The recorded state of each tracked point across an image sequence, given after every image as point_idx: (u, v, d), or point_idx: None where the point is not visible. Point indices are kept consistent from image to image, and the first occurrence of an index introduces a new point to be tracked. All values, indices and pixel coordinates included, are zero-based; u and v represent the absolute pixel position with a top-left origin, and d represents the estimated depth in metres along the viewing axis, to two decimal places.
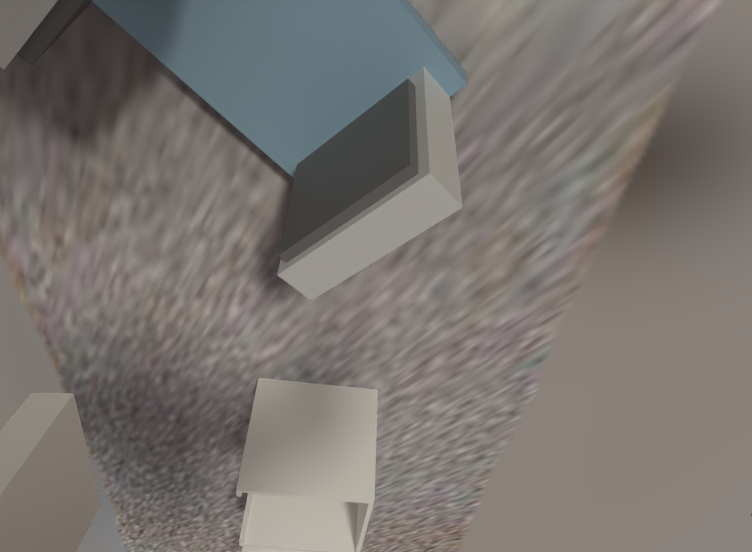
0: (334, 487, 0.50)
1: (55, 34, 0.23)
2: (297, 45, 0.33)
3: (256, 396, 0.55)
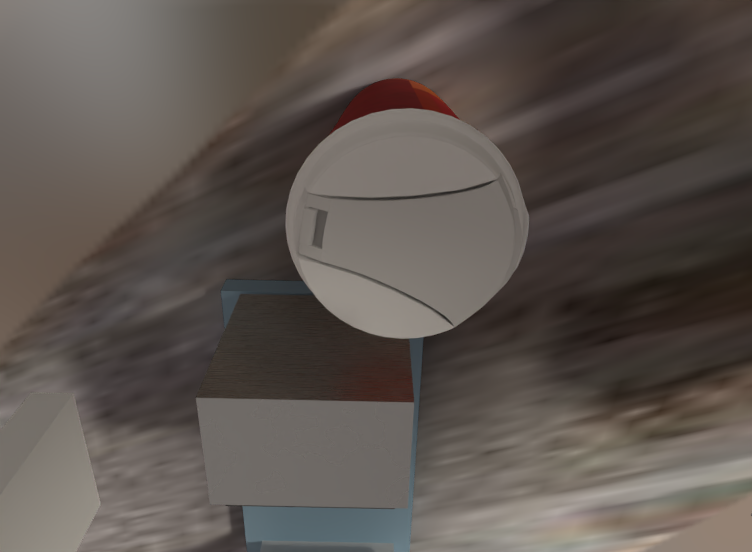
0: None
1: (262, 505, 0.31)
2: None
3: None
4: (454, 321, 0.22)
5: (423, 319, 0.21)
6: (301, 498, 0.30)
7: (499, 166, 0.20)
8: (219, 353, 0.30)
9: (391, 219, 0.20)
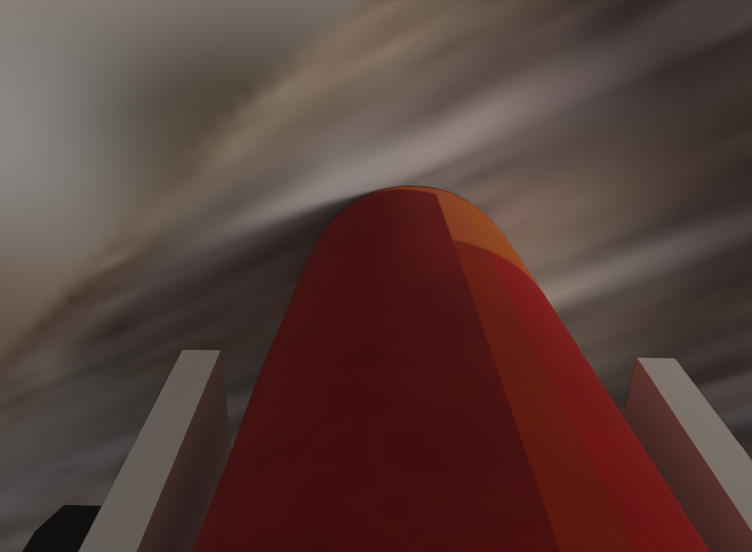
0: None
1: None
2: None
3: None
4: None
5: None
6: None
7: None
8: None
9: None
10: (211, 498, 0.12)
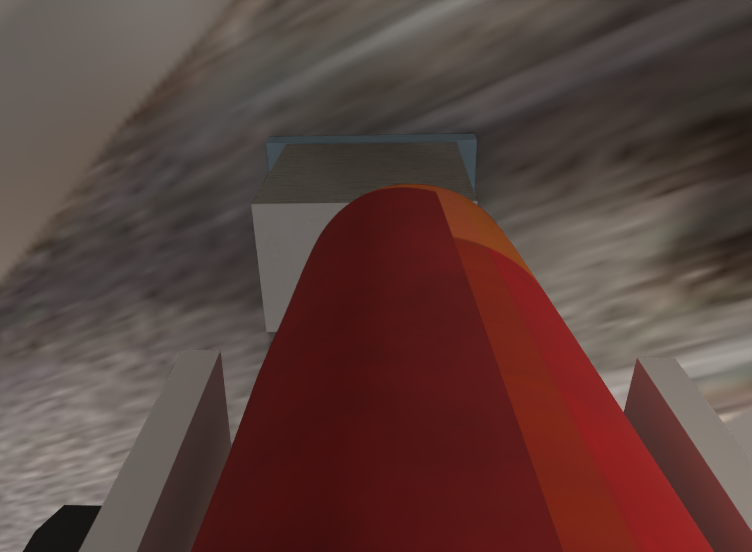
0: None
1: None
2: None
3: None
4: None
5: None
6: None
7: None
8: (270, 178, 0.30)
9: None
10: (211, 498, 0.12)
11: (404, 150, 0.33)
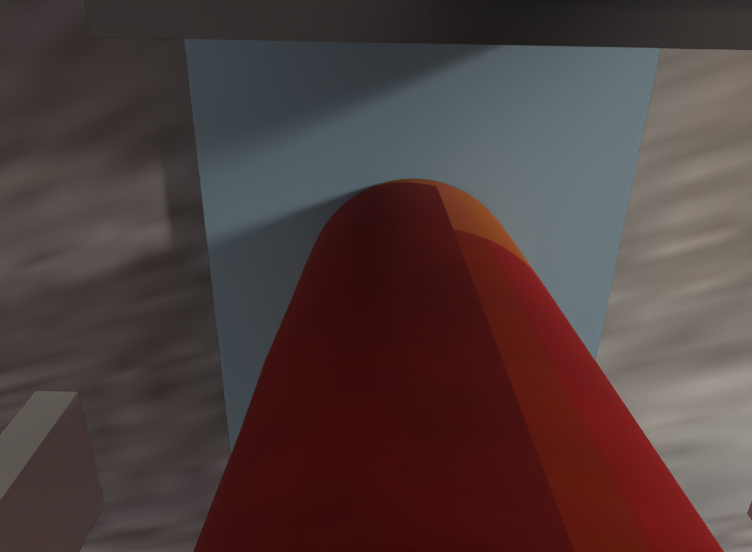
0: None
1: (262, 36, 0.07)
2: None
3: None
4: None
5: None
6: None
7: None
8: None
9: None
10: None
11: None
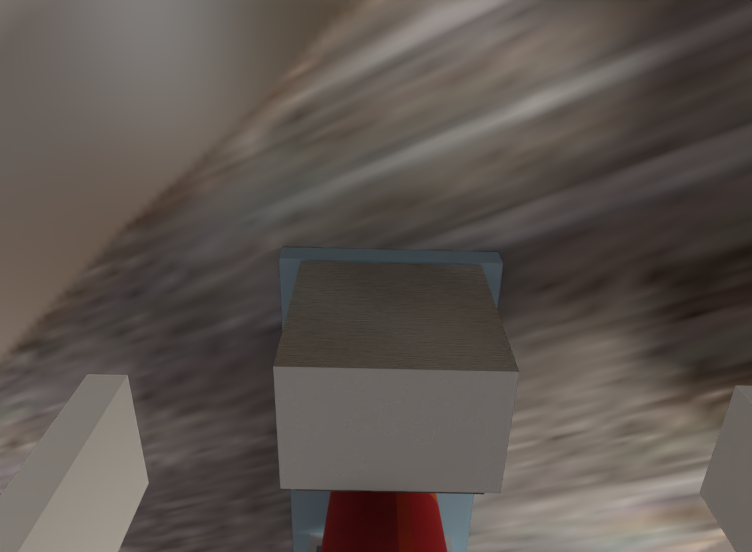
0: None
1: (337, 490, 0.28)
2: None
3: None
4: None
5: None
6: (383, 481, 0.27)
7: None
8: (290, 320, 0.27)
9: None
10: (114, 534, 0.11)
11: (429, 277, 0.31)
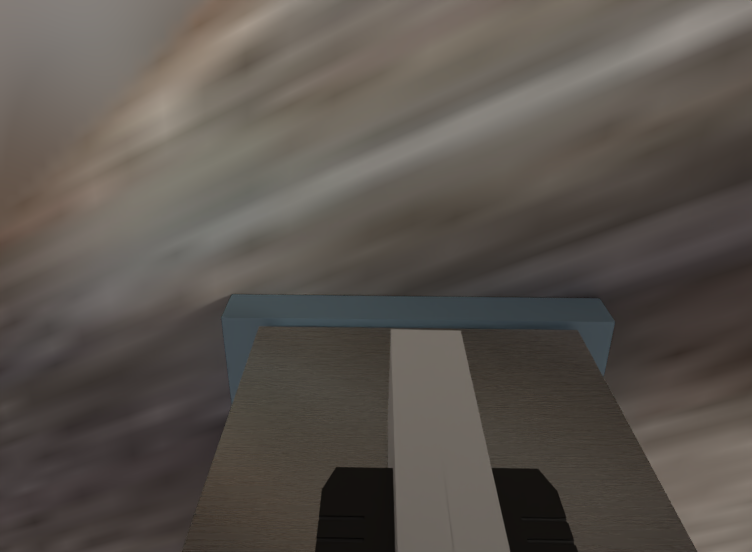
0: None
1: None
2: None
3: None
4: None
5: None
6: None
7: None
8: (217, 477, 0.13)
9: None
10: None
11: (488, 359, 0.17)
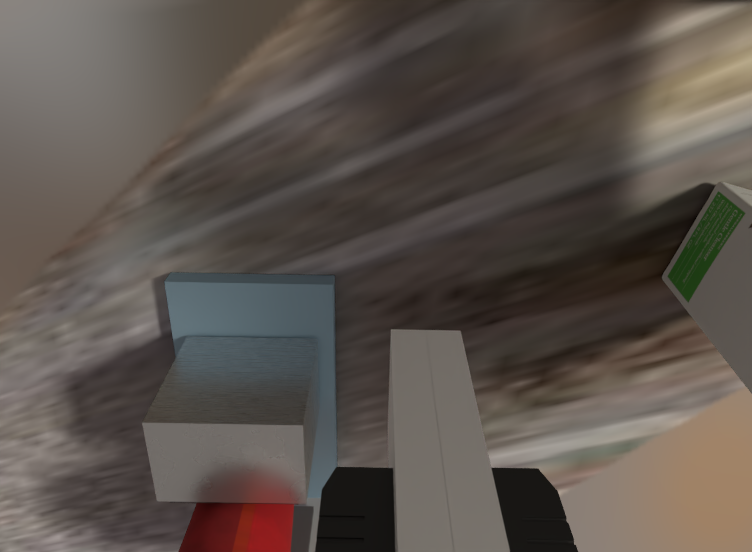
0: None
1: (198, 502, 0.41)
2: None
3: None
4: None
5: None
6: (225, 496, 0.40)
7: None
8: (164, 387, 0.40)
9: None
10: None
11: (274, 350, 0.44)
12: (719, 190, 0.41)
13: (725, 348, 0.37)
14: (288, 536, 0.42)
